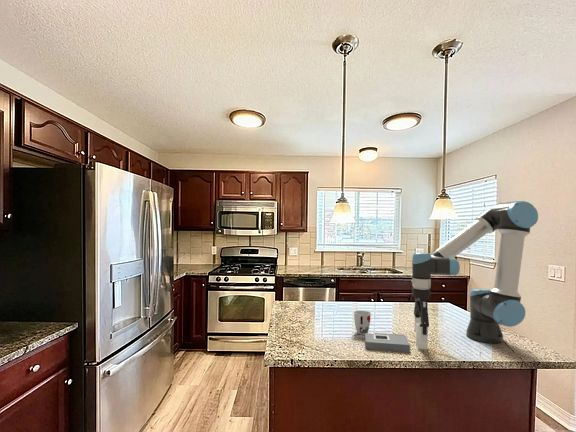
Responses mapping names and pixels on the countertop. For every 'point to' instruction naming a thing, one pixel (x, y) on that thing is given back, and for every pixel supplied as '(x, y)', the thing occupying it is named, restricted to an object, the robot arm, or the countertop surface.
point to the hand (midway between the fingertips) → (420, 337)
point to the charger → (419, 344)
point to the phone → (390, 334)
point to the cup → (362, 321)
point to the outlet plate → (387, 342)
